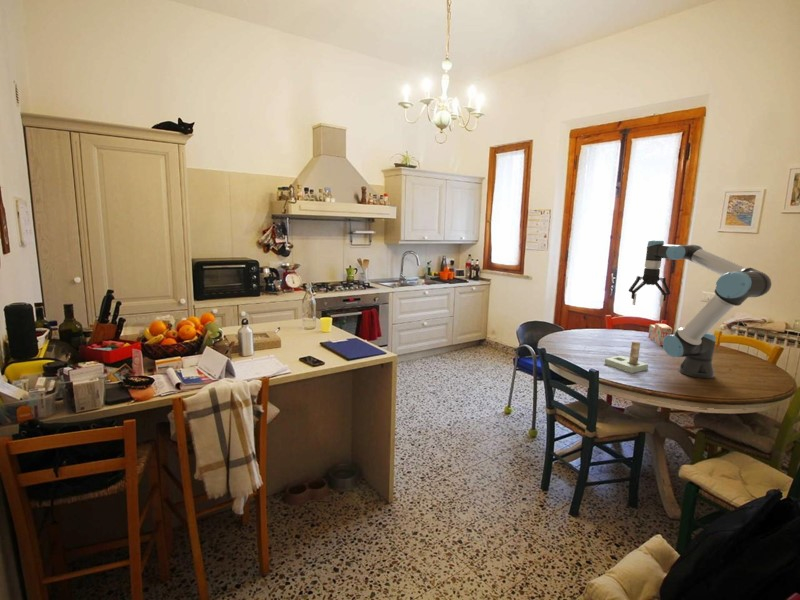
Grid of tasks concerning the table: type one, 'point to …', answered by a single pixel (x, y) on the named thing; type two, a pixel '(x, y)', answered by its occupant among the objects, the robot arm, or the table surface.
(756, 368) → the table surface
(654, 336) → the stack of blocks
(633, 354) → the peg
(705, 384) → the table surface
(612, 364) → the board
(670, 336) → the robot arm
